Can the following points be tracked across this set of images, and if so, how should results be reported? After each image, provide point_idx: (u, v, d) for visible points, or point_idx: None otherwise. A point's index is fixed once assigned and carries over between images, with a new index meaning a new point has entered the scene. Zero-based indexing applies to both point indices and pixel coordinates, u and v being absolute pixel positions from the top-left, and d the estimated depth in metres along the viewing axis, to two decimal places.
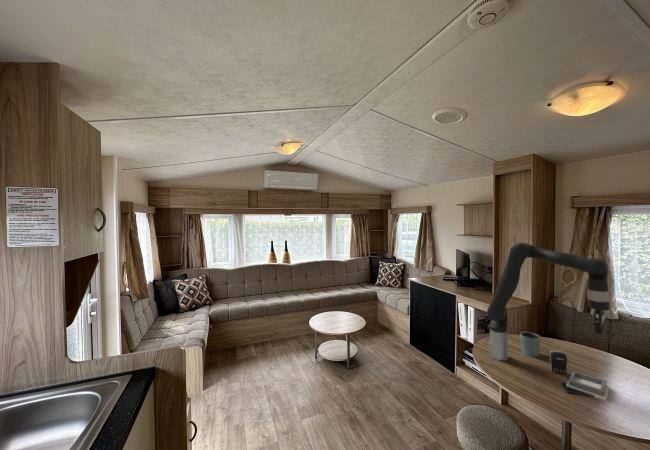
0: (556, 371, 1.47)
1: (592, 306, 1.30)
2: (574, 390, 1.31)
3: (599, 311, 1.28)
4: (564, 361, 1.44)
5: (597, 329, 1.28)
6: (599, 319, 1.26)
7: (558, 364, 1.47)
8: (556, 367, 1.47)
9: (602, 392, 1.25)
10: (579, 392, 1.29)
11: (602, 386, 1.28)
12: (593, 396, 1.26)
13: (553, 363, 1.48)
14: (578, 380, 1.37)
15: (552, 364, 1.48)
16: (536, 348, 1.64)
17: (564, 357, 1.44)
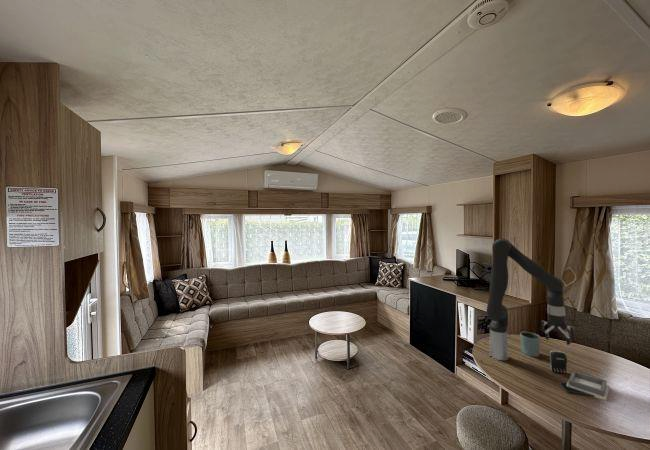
0: (556, 371, 1.47)
1: (563, 321, 1.43)
2: (574, 390, 1.31)
3: (565, 323, 1.44)
4: (564, 361, 1.44)
5: (570, 340, 1.42)
6: None
7: (558, 364, 1.47)
8: (556, 367, 1.47)
9: (602, 392, 1.25)
10: (579, 392, 1.29)
11: (602, 386, 1.28)
12: (593, 396, 1.26)
13: (553, 363, 1.48)
14: (578, 380, 1.37)
15: (552, 364, 1.48)
16: (536, 348, 1.64)
17: (564, 357, 1.44)
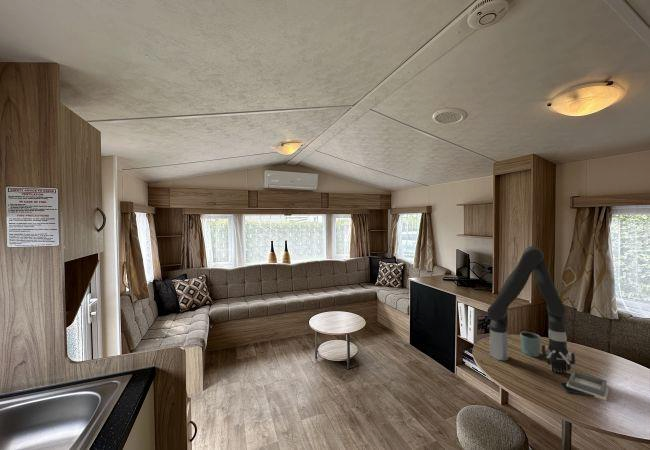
0: (556, 371, 1.47)
1: (564, 347, 1.43)
2: (574, 390, 1.31)
3: None
4: (564, 361, 1.44)
5: (570, 366, 1.43)
6: (574, 357, 1.42)
7: (558, 364, 1.47)
8: (556, 367, 1.47)
9: (602, 392, 1.25)
10: (579, 392, 1.29)
11: (602, 386, 1.28)
12: (593, 396, 1.26)
13: (553, 363, 1.48)
14: (578, 380, 1.37)
15: (552, 364, 1.48)
16: (536, 348, 1.64)
17: None
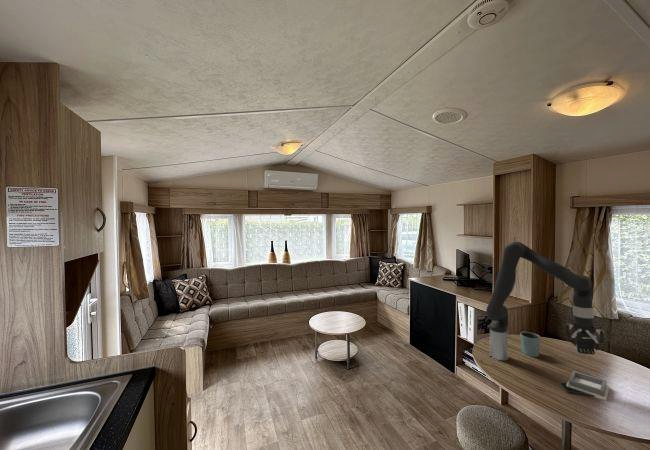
0: (583, 352, 1.33)
1: (592, 324, 1.30)
2: (574, 390, 1.31)
3: (594, 326, 1.31)
4: (592, 340, 1.31)
5: (598, 345, 1.29)
6: None
7: (585, 344, 1.33)
8: (582, 347, 1.34)
9: (602, 392, 1.25)
10: (579, 392, 1.29)
11: (602, 386, 1.28)
12: (593, 396, 1.26)
13: (579, 343, 1.34)
14: (578, 380, 1.37)
15: (578, 344, 1.35)
16: (536, 348, 1.64)
17: None
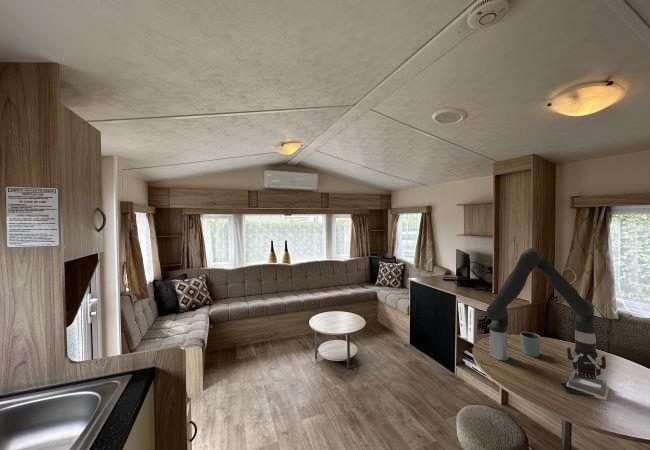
0: (584, 376, 1.33)
1: (594, 349, 1.29)
2: (574, 390, 1.31)
3: None
4: (593, 365, 1.31)
5: (600, 371, 1.29)
6: (605, 360, 1.28)
7: (586, 369, 1.33)
8: (584, 372, 1.34)
9: (602, 392, 1.25)
10: (579, 392, 1.29)
11: (602, 386, 1.28)
12: (593, 396, 1.26)
13: (580, 367, 1.34)
14: (578, 380, 1.37)
15: (579, 369, 1.34)
16: (536, 348, 1.64)
17: None
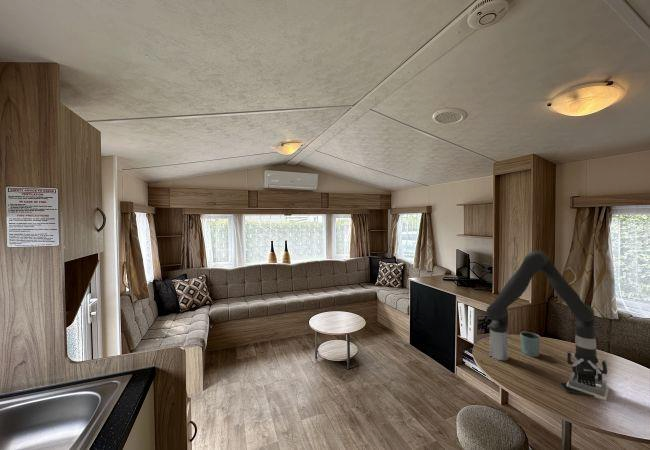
0: (584, 383, 1.33)
1: (594, 355, 1.29)
2: (574, 390, 1.31)
3: (596, 357, 1.30)
4: (593, 373, 1.31)
5: (601, 376, 1.29)
6: (606, 365, 1.28)
7: (586, 376, 1.33)
8: (583, 379, 1.34)
9: (602, 392, 1.25)
10: (579, 392, 1.29)
11: (602, 386, 1.28)
12: (593, 396, 1.26)
13: (580, 375, 1.34)
14: None
15: (579, 376, 1.35)
16: (536, 348, 1.64)
17: (593, 368, 1.31)
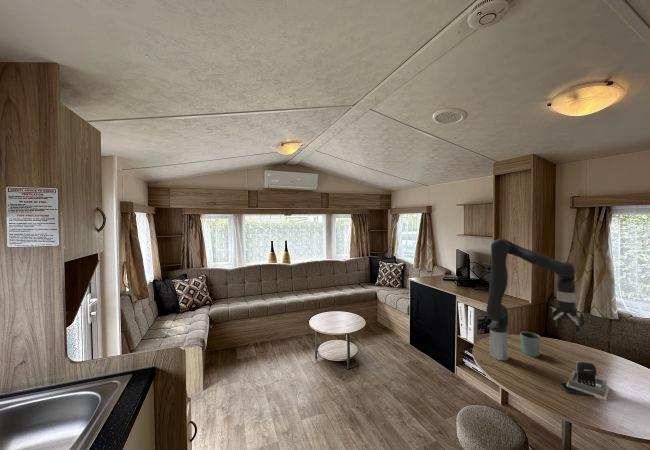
0: (584, 383, 1.33)
1: (573, 308, 1.39)
2: (574, 390, 1.31)
3: (575, 310, 1.40)
4: (593, 373, 1.31)
5: None
6: None
7: (586, 376, 1.33)
8: (583, 379, 1.34)
9: (602, 392, 1.25)
10: (579, 392, 1.29)
11: (602, 386, 1.28)
12: (593, 396, 1.26)
13: (580, 375, 1.34)
14: None
15: (579, 376, 1.35)
16: (536, 348, 1.64)
17: (593, 368, 1.31)
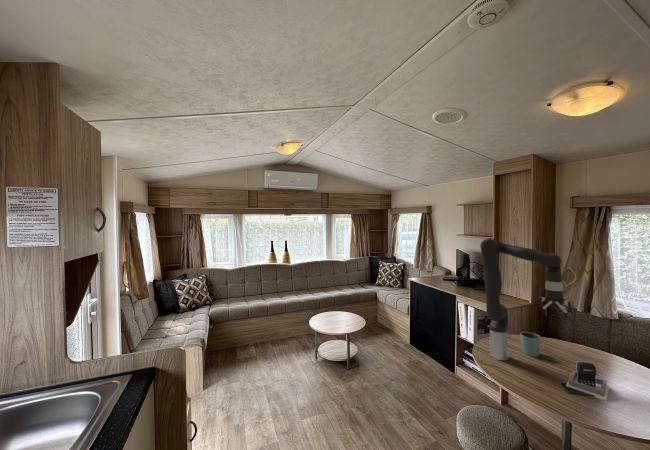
0: (584, 383, 1.33)
1: (561, 296, 1.46)
2: (574, 390, 1.31)
3: (563, 298, 1.47)
4: (593, 373, 1.31)
5: (567, 315, 1.45)
6: (571, 305, 1.44)
7: (586, 376, 1.33)
8: (583, 379, 1.34)
9: (602, 392, 1.25)
10: (579, 392, 1.29)
11: (602, 386, 1.28)
12: (593, 396, 1.26)
13: (580, 375, 1.34)
14: None
15: (579, 376, 1.35)
16: (536, 348, 1.64)
17: (593, 368, 1.31)
